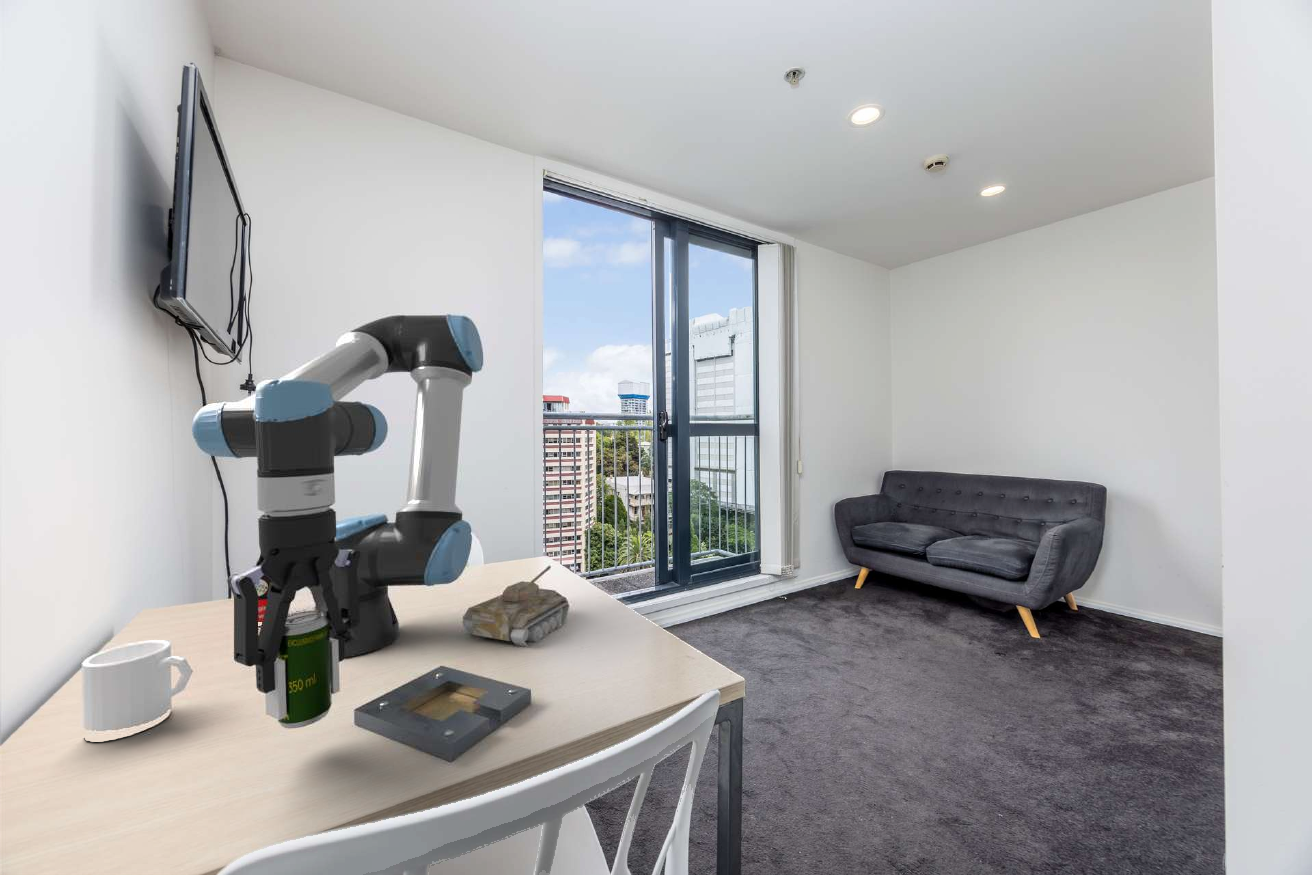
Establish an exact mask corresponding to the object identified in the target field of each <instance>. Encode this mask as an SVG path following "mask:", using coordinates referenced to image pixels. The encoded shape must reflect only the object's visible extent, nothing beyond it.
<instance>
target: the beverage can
mask: <svg viewBox="0 0 1312 875" xmlns="http://www.w3.org/2000/svg"><path fill="white" fill-rule="evenodd" d="M255 567H256V564H255V565H252V566H251V569H253V568H255ZM269 584H270V583H269V582H268V581H267V580H266V579H265V578H264V577H263V576H262V577H261V578H260V587H259V588H258V589H256V590H257V593H258V622H262V621H263V617H264V613H265V609H266V605H267V602H268V598H267V592H268V588H269ZM282 592H283V591H282Z"/></svg>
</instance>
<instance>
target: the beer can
mask: <svg viewBox="0 0 1312 875" xmlns="http://www.w3.org/2000/svg"><path fill="white" fill-rule="evenodd" d="M326 616H327V613H326V612H325V611H320V610H315V609H314V610H306V611H305V610H304V611H300V612H295V613H292V614H288V616H287V620H286V624H285V628H284V632H283V636H282V640H281V644H280V648H279V652H278V656H277V658H278V659H282V660H285V683H286V714H287V717H285V718H283V719H281V720H278V719H277V721H278V723H279V725H280V726H281V727H282V728H285V729H290V730H291V729H299V728H304V727H307V726H310V725H313V724H315V723H317V722H319V721H321V720H322V719H323V718H326V716H327V715H328V714H329V712H330V709H331V707H332V703H333V698H332V696H333V694H332V691H331V661H330V632H329V620H328V619H327V617H326Z"/></svg>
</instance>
